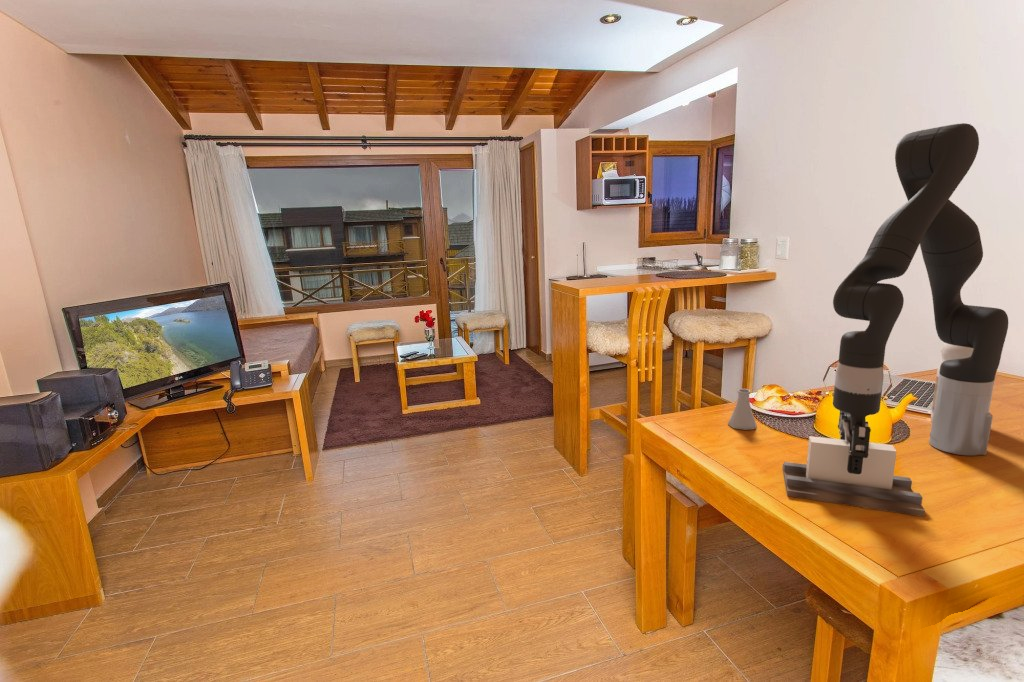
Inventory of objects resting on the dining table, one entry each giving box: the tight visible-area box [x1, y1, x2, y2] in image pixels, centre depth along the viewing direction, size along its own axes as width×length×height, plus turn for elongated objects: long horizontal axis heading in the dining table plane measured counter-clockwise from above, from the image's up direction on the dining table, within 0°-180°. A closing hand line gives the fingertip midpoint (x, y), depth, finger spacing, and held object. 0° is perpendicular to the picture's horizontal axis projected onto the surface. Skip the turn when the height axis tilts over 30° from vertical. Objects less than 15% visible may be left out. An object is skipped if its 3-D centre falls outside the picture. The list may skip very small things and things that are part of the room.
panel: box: [806, 435, 898, 489], centre depth 99 cm, size 14×3×9 cm, turn 66°
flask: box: [727, 388, 757, 431], centre depth 132 cm, size 7×7×10 cm
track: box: [782, 461, 926, 518], centre depth 99 cm, size 22×12×3 cm, turn 66°
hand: (849, 463), depth 98 cm, fingers open, 8 cm apart
